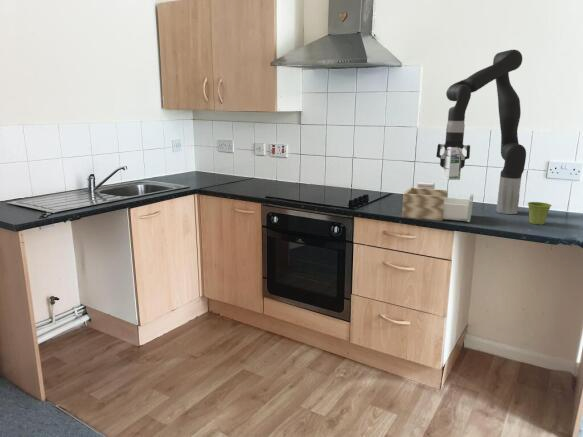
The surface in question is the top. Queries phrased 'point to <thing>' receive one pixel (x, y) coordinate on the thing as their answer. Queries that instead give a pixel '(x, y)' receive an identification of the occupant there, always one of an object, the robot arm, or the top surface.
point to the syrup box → (452, 164)
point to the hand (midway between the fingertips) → (451, 167)
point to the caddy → (424, 204)
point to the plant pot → (538, 212)
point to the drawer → (458, 208)
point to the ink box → (426, 185)
